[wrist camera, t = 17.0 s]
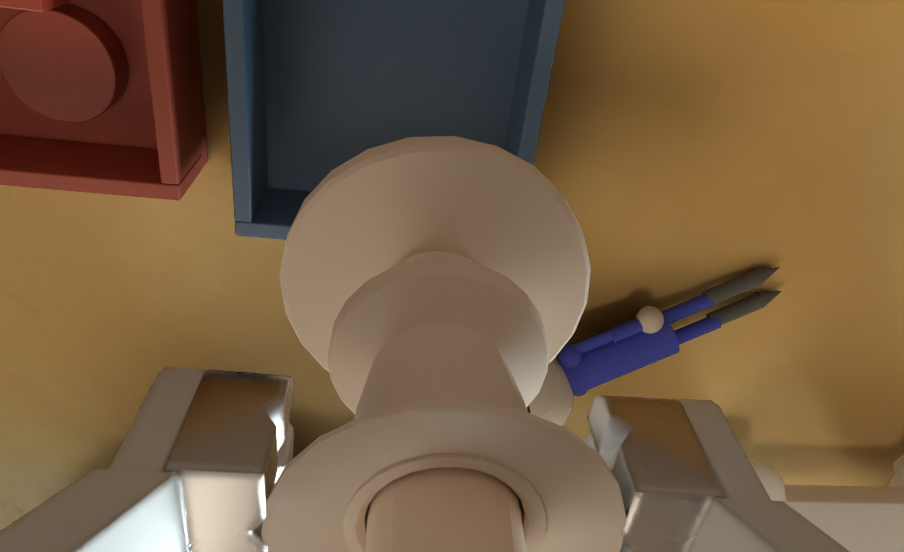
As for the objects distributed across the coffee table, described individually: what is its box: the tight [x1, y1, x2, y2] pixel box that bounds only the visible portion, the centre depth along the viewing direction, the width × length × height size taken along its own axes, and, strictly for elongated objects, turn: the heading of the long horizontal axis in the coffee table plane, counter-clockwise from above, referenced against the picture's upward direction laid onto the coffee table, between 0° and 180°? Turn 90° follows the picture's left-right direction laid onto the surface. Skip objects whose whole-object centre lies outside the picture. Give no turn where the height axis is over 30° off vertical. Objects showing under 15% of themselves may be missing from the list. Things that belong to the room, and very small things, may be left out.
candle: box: [261, 136, 627, 552], centre depth 7 cm, size 5×5×10 cm
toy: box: [526, 267, 781, 426], centre depth 30 cm, size 5×5×15 cm
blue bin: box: [223, 0, 565, 240], centre depth 24 cm, size 10×10×4 cm
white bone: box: [749, 455, 904, 552], centre depth 34 cm, size 15×9×8 cm, turn 86°
